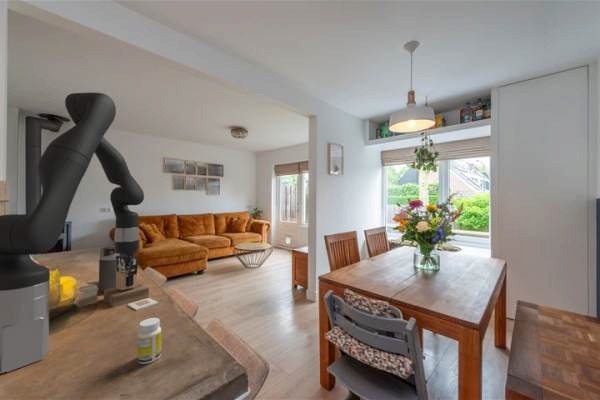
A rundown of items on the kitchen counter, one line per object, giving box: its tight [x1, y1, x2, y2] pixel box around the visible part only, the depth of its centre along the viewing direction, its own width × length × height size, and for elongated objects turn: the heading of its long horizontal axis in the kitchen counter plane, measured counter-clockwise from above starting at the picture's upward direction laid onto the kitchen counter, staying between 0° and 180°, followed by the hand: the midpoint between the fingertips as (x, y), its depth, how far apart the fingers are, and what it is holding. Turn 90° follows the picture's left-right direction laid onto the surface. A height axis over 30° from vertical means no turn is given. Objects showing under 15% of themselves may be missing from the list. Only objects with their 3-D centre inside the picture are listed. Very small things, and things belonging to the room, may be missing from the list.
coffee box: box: [99, 245, 120, 259], centre depth 111 cm, size 9×6×16 cm
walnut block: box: [103, 282, 150, 308], centre depth 91 cm, size 11×11×4 cm
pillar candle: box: [98, 255, 119, 295], centre depth 101 cm, size 10×10×15 cm
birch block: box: [75, 283, 98, 308], centre depth 87 cm, size 5×5×6 cm
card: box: [126, 297, 159, 311], centre depth 86 cm, size 7×7×1 cm
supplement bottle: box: [136, 317, 162, 365], centre depth 56 cm, size 5×5×8 cm
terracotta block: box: [116, 270, 138, 290], centre depth 91 cm, size 5×5×6 cm
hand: (126, 284), depth 91 cm, fingers closed on terracotta block, 5 cm apart
